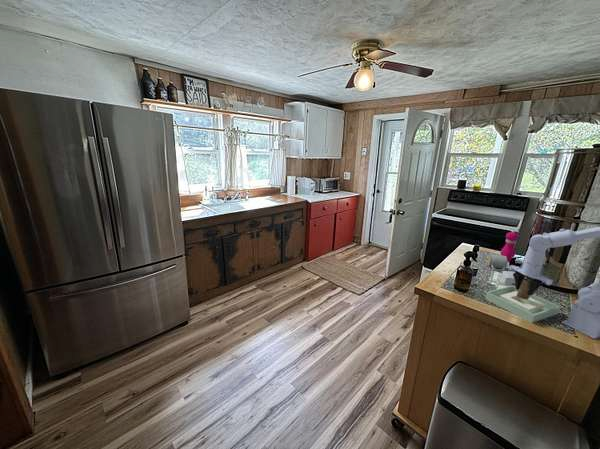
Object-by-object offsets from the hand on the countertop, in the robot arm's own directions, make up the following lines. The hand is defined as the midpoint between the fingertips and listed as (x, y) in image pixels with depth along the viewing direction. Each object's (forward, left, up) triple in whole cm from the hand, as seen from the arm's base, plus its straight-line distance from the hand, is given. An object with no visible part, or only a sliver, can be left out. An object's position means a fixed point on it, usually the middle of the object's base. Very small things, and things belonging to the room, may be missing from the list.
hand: (524, 291), depth 107 cm
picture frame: (0, 0, -7) cm, 7 cm away
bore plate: (0, 0, -7) cm, 7 cm away
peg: (0, 0, -2) cm, 3 cm away
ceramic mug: (+29, -32, -8) cm, 44 cm away
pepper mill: (+35, -50, -8) cm, 62 cm away
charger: (+16, -23, -8) cm, 29 cm away
